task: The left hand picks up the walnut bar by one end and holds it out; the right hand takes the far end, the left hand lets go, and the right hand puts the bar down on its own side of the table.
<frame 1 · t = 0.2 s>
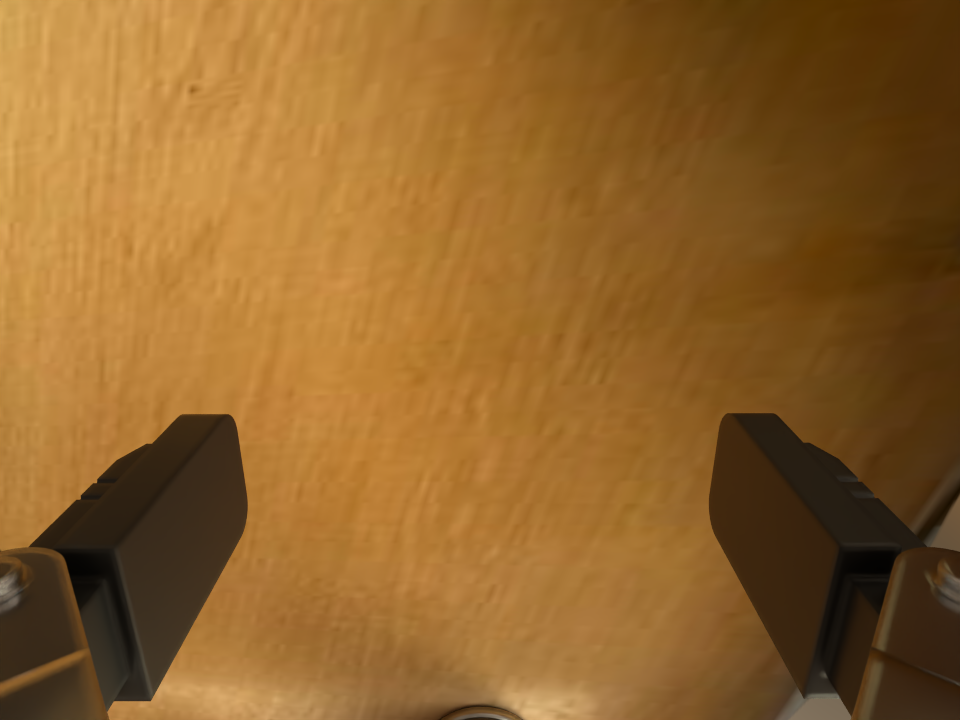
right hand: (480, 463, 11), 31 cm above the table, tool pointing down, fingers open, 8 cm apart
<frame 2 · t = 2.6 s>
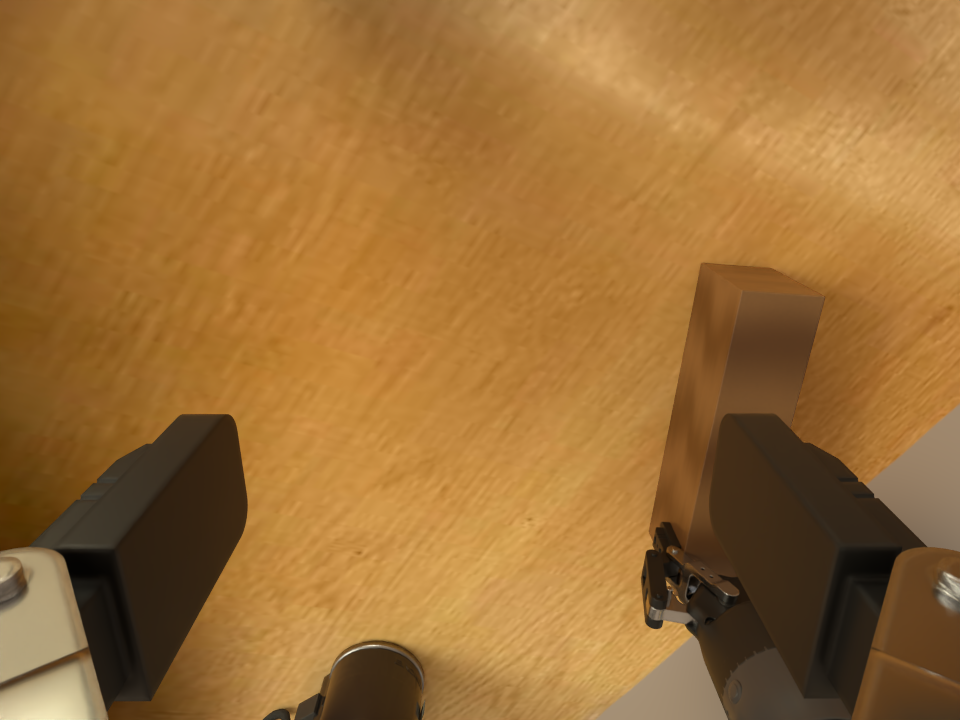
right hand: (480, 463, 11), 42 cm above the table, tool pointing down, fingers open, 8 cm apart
bar: (705, 409, 57), on the table, touching left hand
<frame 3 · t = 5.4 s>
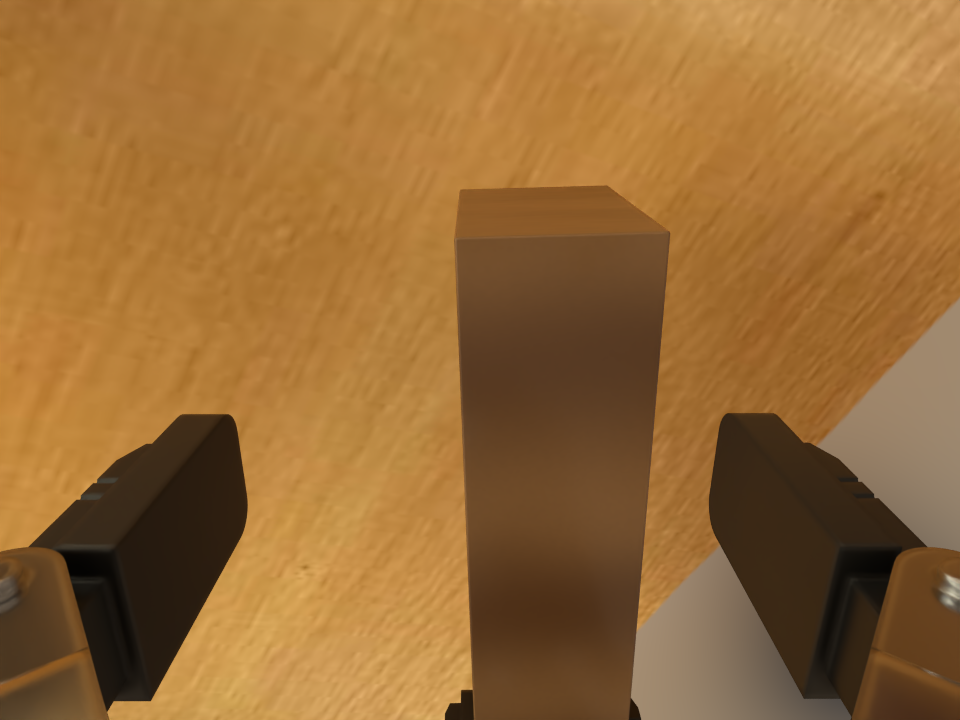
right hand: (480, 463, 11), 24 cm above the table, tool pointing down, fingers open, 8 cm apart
bar: (532, 469, 30), point 8 cm above the table, touching left hand
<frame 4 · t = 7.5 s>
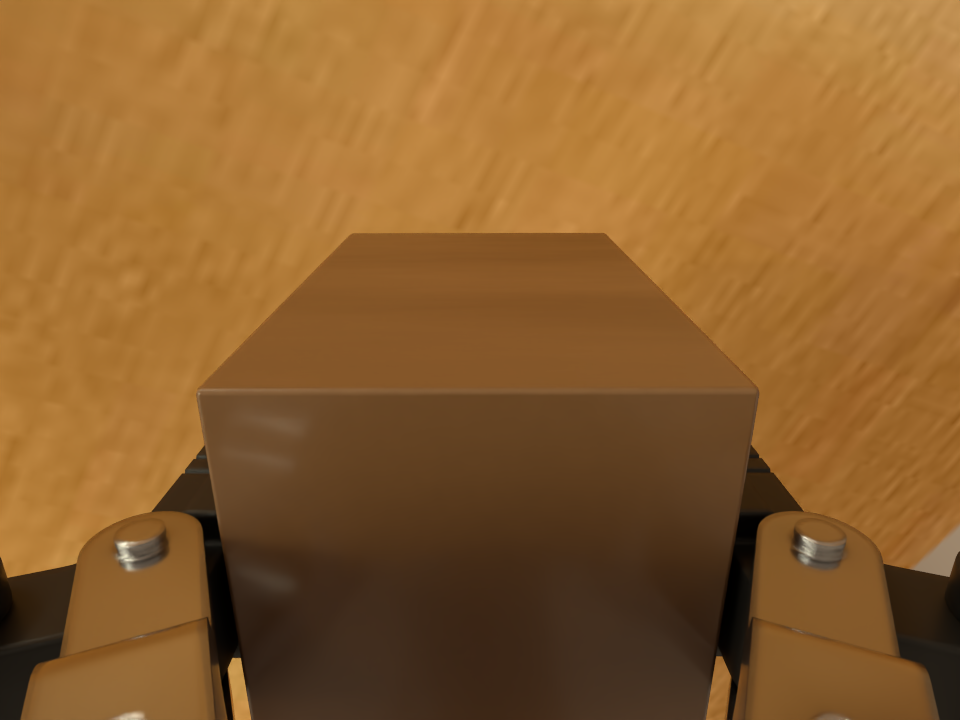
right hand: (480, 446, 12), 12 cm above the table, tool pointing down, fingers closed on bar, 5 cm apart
bar: (479, 667, 19), point 8 cm above the table, touching right hand, left hand
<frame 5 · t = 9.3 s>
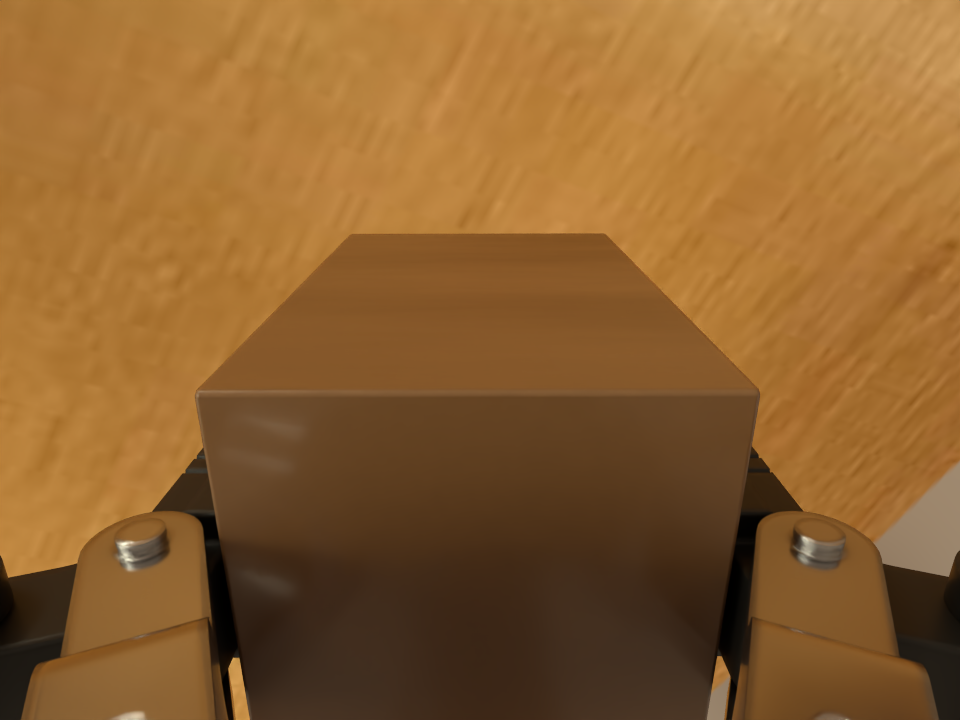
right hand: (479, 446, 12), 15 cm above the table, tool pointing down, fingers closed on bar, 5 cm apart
bar: (479, 668, 19), point 11 cm above the table, touching right hand
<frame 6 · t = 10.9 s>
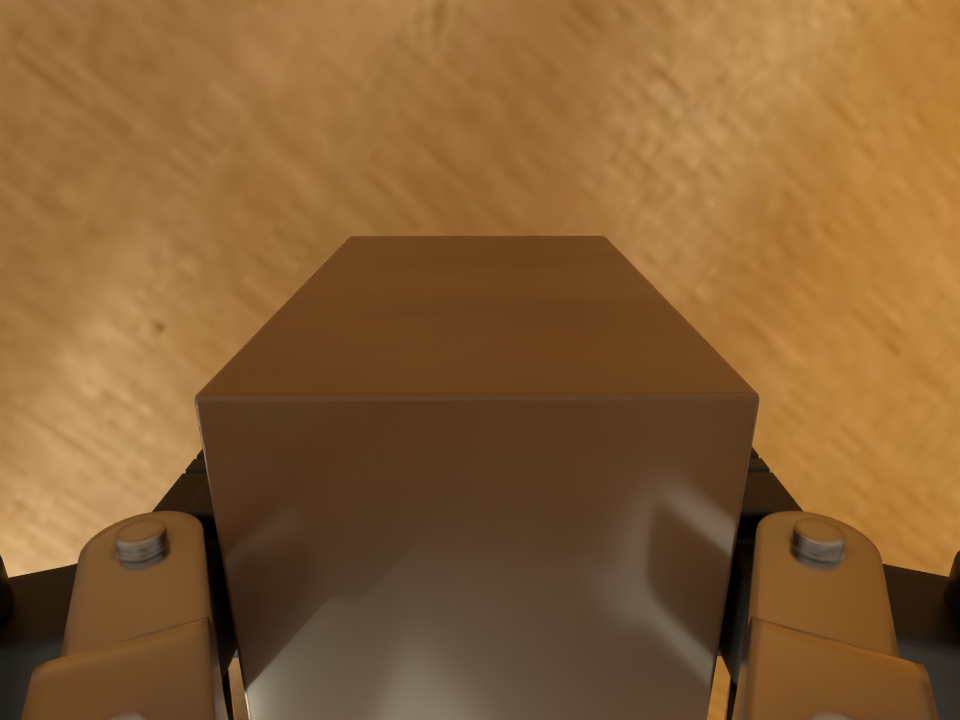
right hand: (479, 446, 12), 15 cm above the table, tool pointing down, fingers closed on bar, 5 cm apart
bar: (478, 669, 19), point 10 cm above the table, touching right hand
when the right hand's fingers open (6 cm above the table, at t = 12.4 s): bar drops 1 cm, on the table.
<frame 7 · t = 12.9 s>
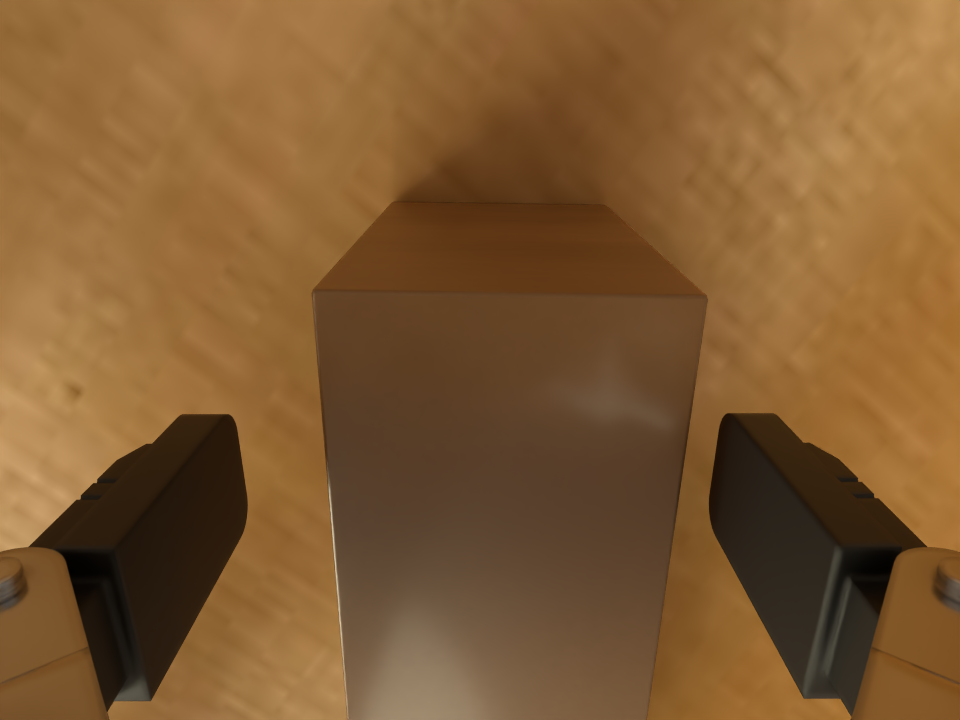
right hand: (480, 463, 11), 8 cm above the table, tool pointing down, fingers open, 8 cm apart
bar: (490, 586, 22), on the table
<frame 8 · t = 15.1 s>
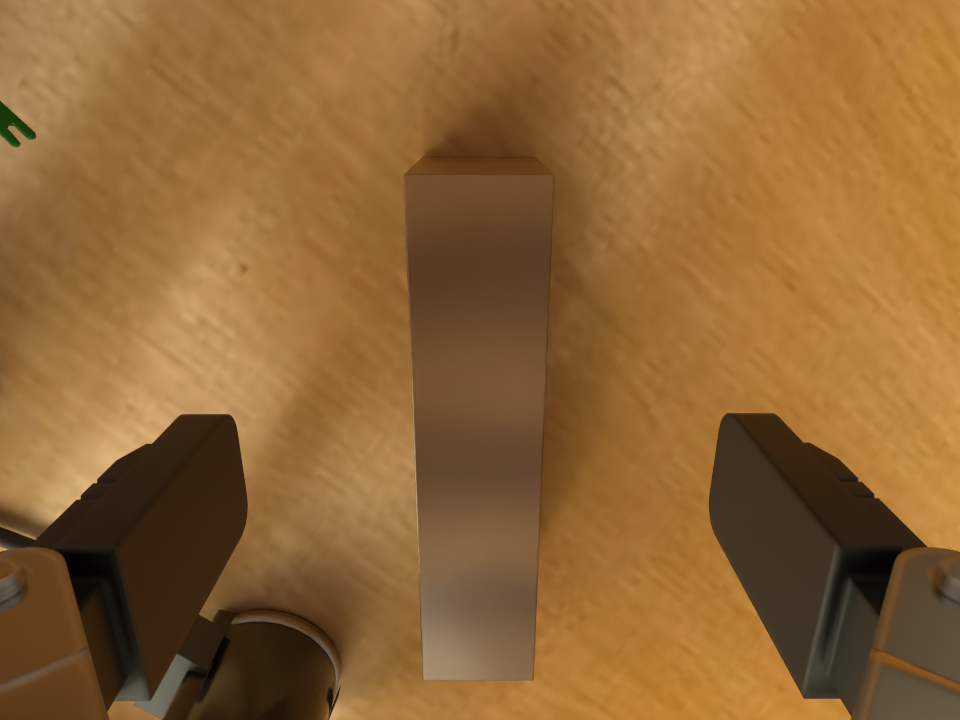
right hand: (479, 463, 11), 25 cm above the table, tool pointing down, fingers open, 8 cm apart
bar: (478, 388, 37), on the table
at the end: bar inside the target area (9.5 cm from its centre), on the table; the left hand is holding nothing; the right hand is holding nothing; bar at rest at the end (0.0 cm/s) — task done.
